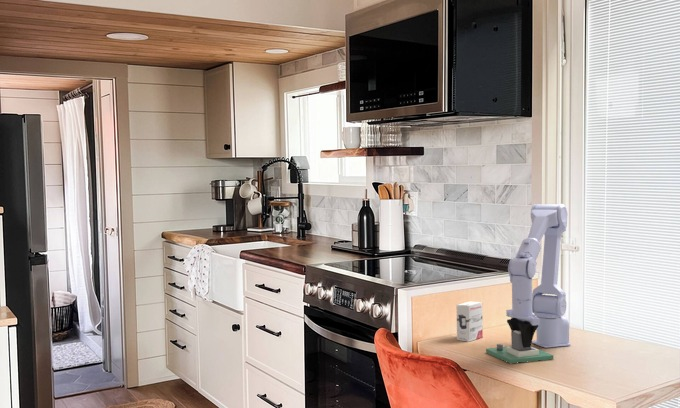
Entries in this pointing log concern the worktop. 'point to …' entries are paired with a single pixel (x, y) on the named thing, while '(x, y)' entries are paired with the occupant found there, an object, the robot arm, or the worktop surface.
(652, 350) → the worktop surface
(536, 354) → the board
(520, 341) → the plug
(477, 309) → the ink box
